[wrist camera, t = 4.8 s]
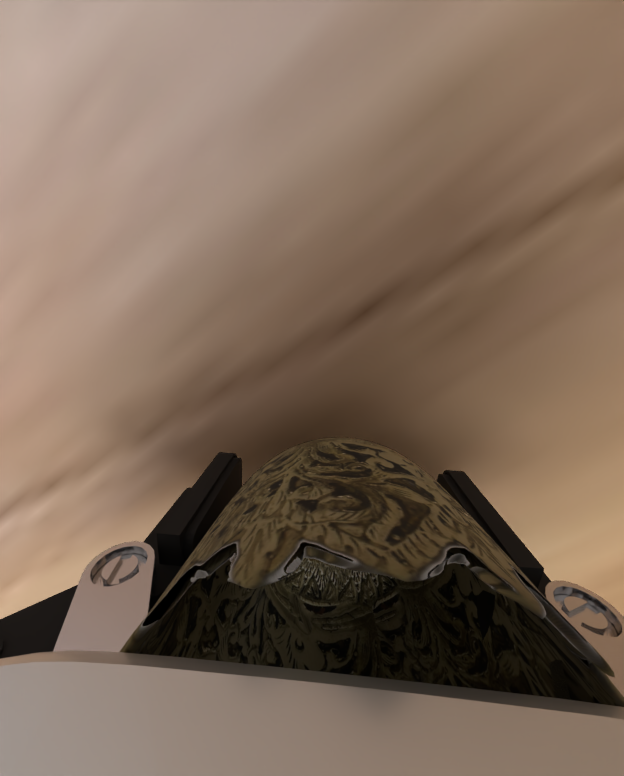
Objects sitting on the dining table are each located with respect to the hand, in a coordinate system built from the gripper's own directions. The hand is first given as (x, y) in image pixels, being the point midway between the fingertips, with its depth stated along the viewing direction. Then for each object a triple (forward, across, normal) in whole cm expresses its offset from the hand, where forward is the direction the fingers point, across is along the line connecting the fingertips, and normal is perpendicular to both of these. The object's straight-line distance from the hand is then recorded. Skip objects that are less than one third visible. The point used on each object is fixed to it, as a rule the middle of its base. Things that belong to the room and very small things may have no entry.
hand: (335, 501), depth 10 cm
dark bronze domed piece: (+2, 0, 0) cm, 2 cm away
